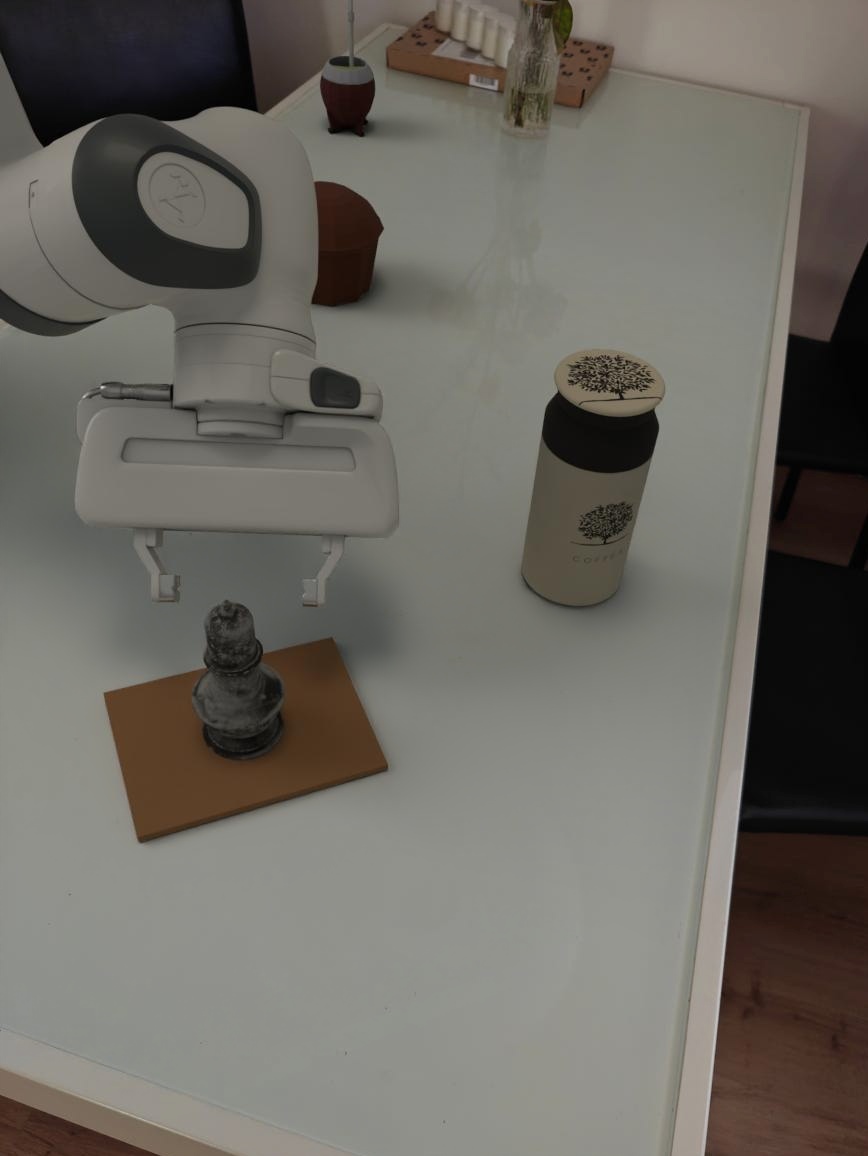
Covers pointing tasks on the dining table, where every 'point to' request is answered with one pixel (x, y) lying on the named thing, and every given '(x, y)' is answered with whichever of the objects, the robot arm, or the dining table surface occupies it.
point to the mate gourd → (347, 88)
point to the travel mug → (590, 475)
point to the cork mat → (227, 787)
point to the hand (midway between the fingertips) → (240, 604)
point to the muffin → (344, 244)
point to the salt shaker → (237, 687)
